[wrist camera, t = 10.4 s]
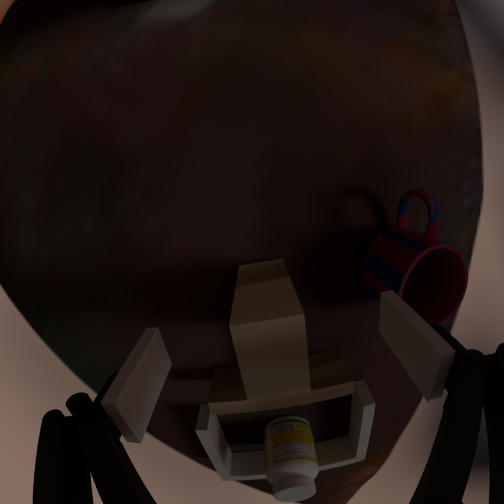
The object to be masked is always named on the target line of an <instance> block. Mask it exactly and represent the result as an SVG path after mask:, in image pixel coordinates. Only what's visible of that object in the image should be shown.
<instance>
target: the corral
mask: <svg viewBox="0 0 504 504" xmlns="http://www.w3.org/2000/svg"><path fill="white" fill-rule="evenodd" d="M374 410H375V401H374V399H373V397H372V395H371V393H370V392H369V390H368V388H367V386H366V384H365V382H364V380H363V379H362V380H358V381H355V383H354V393H353V394H352V402H351V414H350V425H349V435H347V436H343V437H339V438H335V439H331V440H326V441H321V442H317V443H314V446H315V452H316V456H317V461H318V466H319V471H320V470H325V469H330V468H334V467H339V466H343V465H347V464H351V463H354V462H358V461H361V460H364V459H365V455H366V451H367V446H368V442H369V437H370V432H371V427H372V421H373V416H374ZM195 431H196V433H197V435H198V437H199V439H200V441H201V443H202V445H203V447H204V449H205V450H206V452H207V454H208V456H209V458H210V460H211V461H212V463H213V465H214V467H215V468H216V470H217V472H218V474H219V475H220V477H221V479H222V480H223V481H224V480H225V481H229V480H253V479H265V478H266V471H265V468H266V467H265V450H263V451H252V452H237V453H232V452H231V450H230V448H229V445H228V443H227V441H226V438H225V436H224V433H223V431H222V429H221V426H220V424H219V421H218V419H217V416H216V415H212V413H211V410H210V408H209V405H208V404H201V406H200V411H199V415H198V420H197V424H196V429H195Z"/></svg>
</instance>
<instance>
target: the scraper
mask: <svg viewBox="0 0 504 504" xmlns="http://www.w3.org/2000/svg"><path fill="white" fill-rule="evenodd" d="M229 327H230V331H231V336H232V340H233V344H234V348H235V352H236V356H237V360H238V364H239V366H232V367H222V368H214V373H213V378H212V383H211V389H210V394H209V399H208V405H209V408H210V410H211V413H212V415H218V414H233V413H245V412H255V411H264V410H272V409H279V408H285V407H292V406H298V405H303V404H309V403H314V402H319V401H324V400H328V399H333V398H337V397H341V396H345V395H349V394H353V393H354V383H355V381H354V378H353V376H352V374H351V372H350V370H349V368H348V366H347V364H346V362H345V360H344V358H343V356H342V354H341V352H340V349H336V350H331V351H327V352H322V353H317V354H312V355H308V350H307V339H306V328H305V319H304V313H303V310H302V307H301V305H300V302H299V300H298V297H297V294H296V292H295V289H294V287H293V284H292V281H291V279H290V276H289V274H288V271H287V269H286V266H285V264H284V261H283V258H281V259H275V260H269V261H263V262H257V263H251V264H244V265H239V269H238V275H237V281H236V287H235V293H234V299H233V305H232V311H231V317H230V324H229Z"/></svg>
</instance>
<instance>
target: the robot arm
mask: <svg viewBox="0 0 504 504" xmlns="http://www.w3.org/2000/svg"><path fill="white" fill-rule="evenodd" d="M125 1H139V0H125ZM379 333H380V334H381V335H382V337H383V338H384V340H385V341H386V342H387V344H388V345H389V346H390V348H391V349H392V351H393V352H394V353H395V355H396V356H397V358H398V359H399V361H400V362H401V363H402V365H403V366H404V368H405V369H406V371H407V372H408V373H409V375H410V376H411V378H412V379H413V381H414V382H415V384H416V385H417V387H418V388H419V390H420V391H421V393H422V394H423V396H424V397H425V399H426V400H427V402H428V403H429V402H431V401H433V400H436V399H438V398H440V397H441V396H442V394H443V391H444V388H445V389H446V391H447V392H448V395H447V398H446V401H445V403H444V406H443V409H444V410H443V414H442V418H441V422H440V425H439V429H438V432H437V435H436V438H435V441H434V445H433V448H432V450H431V453H430V456H429V459H428V462H427V464H426V467H425V469H424V472H423V474H422V476H421V479H420V481H419V483H418V486H417V488H416V490H415V492H414V494H413V497H412V498H411V501H410V503H409V504H463V503H462V497H463V494H464V491H465V488H466V485H467V482H468V478H469V475H470V471H471V467H472V464H473V459H474V455H475V451H476V446H477V440H478V435H479V429H480V423H481V416H482V407H483V406H484V413H485V419H486V427H487V436H488V447H489V465H490V466H489V468H490V488H489V489H490V490H489V504H504V343H501V344H500V345H498V347H497V350H496V353H494V354H489V355H483V353H482V352H480V351H478V350H474V349H468V350H467V349H466V348H464V347H463V346H462V345H461V344H460V343H459V342H458V341H457V340H456V339H455V338H454V337H452V335H451V334H450V333H449V332H448V331H447V330H446V329H445V328H443V327H442V326H440V325H438V324H436V323H432V324H428V323H427V322H426V321H425V320H424V319H423V318H422V317H421V316H419V315H418V314H417V313H416V312H415V311H414V310H413V309H412V308H411V307H410V306H409V305H408V304H407V303H406V302H405V301H403V300H402V299H401V298H400V297H399V296H398V295H397V294H396V293H395V292H394V291H392V290H390V291H386V292H381V301H380V326H379ZM171 364H172V363H171V361H170V358H169V356H168V353H167V350H166V348H165V345H164V342H163V340H162V337H161V334H160V331H159V329H158V327H156V328H147V329H146V330H145V332H144V333H143V335H142V337H141V338H140V340H139V341H138V343H137V344H136V346H135V347H134V349H133V350H132V352H131V354H130V355H129V357H128V358H127V360H126V362H125V363H124V365H123V366H122V368H121V370H120V371H119V372H114V373H113V374H112V375H111V376H110V377H109V378H108V379H107V381H106V382H105V385H103V387H102V390H100V392H99V393H98V395H97V397H96V398H95V400H94V402H92V400H91V399H90V397H89V396H88V394H86V393H83V392H81V393H76V394H74V395H72V396H71V397H70V398H69V399H68V400H67V402H66V407H67V408H68V410H69V411H70V413H71V414H72V416H66V417H65V416H64V415H63V414H62V412H61V411H60V410H57V409H54V410H50V411H48V412H47V413H46V414H45V415H44V417H43V419H42V424H41V429H40V435H39V441H38V447H37V455H36V462H35V472H34V484H33V485H34V486H33V504H93V496H92V487H91V475H92V477H93V480H94V483H95V485H96V488H97V490H98V493H99V495H100V497H101V500H102V502H103V504H157V503H156V502H155V500H154V499H153V497H152V496H151V494H150V493H149V491H148V490H147V488H146V486H145V485H144V483H143V481H142V480H141V478H140V476H139V475H138V473H137V471H136V469H135V467H134V465H133V464H132V462H131V460H130V458H129V456H128V454H127V452H126V450H125V449H124V446H123V444H122V443H121V442H120V440H119V439H120V437H121V435H123V437H124V438H125V439H126V440H127V442H133V443H141V441H142V439H143V436H144V433H145V431H146V428H147V425H148V423H149V420H150V417H151V415H152V412H153V410H154V407H155V404H156V402H157V399H158V397H159V394H160V392H161V389H162V387H163V384H164V382H165V379H166V377H167V374H168V372H169V369H170V367H171ZM90 472H91V475H90Z"/></svg>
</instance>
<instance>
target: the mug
mask: <svg viewBox="0 0 504 504" xmlns="http://www.w3.org/2000/svg"><path fill="white" fill-rule="evenodd" d="M416 196H418V197H420V198H421V199H422V200H423V201H424V202H425V204H426V206H427V209H428V217H429V220H428V227H427V231H426V232H425V234H423V233H420V232H417V231H415V230H412V229H409V228H408V227H407V216H408V210H409V206H410V203H411V201H412V200H413V198H414V197H416ZM439 227H440V211H439V206H438V203H437V201H436V199H435V197H434V196H433V195H432V194H431V193H429V192H428V191H425V190H420V189H415V190H411V191H407V192H406V193H405V194H404V195H403V196H402V198H401V201H400V203H399V207H398V212H397V218H396V227H391V228H388V229H385V230H383V231H382V232H380V233H379V234H378V235H377V236H376V237H375V238H374V239H373V240H372V241H371V242H370V244H369V246H368V247H367V249H366V251H365V254H364V257H363V262H362V276H363V280H364V283H365V285H366V287H367V288H368V290H369V291H370V292H371V293H372V294H373V295H374V296H375V297H376V298H377V299H378V300H379V301H381V292H386V291H390V290H392V291H394V292H395V293H396V294H397V295H398V296H399V297H400V298H401V299H402V300H403V301H405V302H406V303H407V304H408V305H409V306H410V307H411V308H412V309H413V310H414V311H415V312H416V313H417V314H418V315H419V316H421V317H422V318H423V319H424V320H425V321H426V322H427V323H428V324H432V323H436V324H438V325H440V326H443V325H444V324H445V323H446V322H447V321H448V320H449V319H450V318H451V317H452V316H453V315H454V314H455V312H456V311H457V309H458V308H459V306H460V304H461V302H462V300H463V298H464V295H465V292H466V288H467V283H468V267H467V263H466V260H465V257H464V255H463V254H462V252H461V251H460V250H459V249H458V248H457V247H456V246H454V245H452V244H450V243H448V242H445V241H442V240H440V239H438V233H439Z"/></svg>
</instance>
